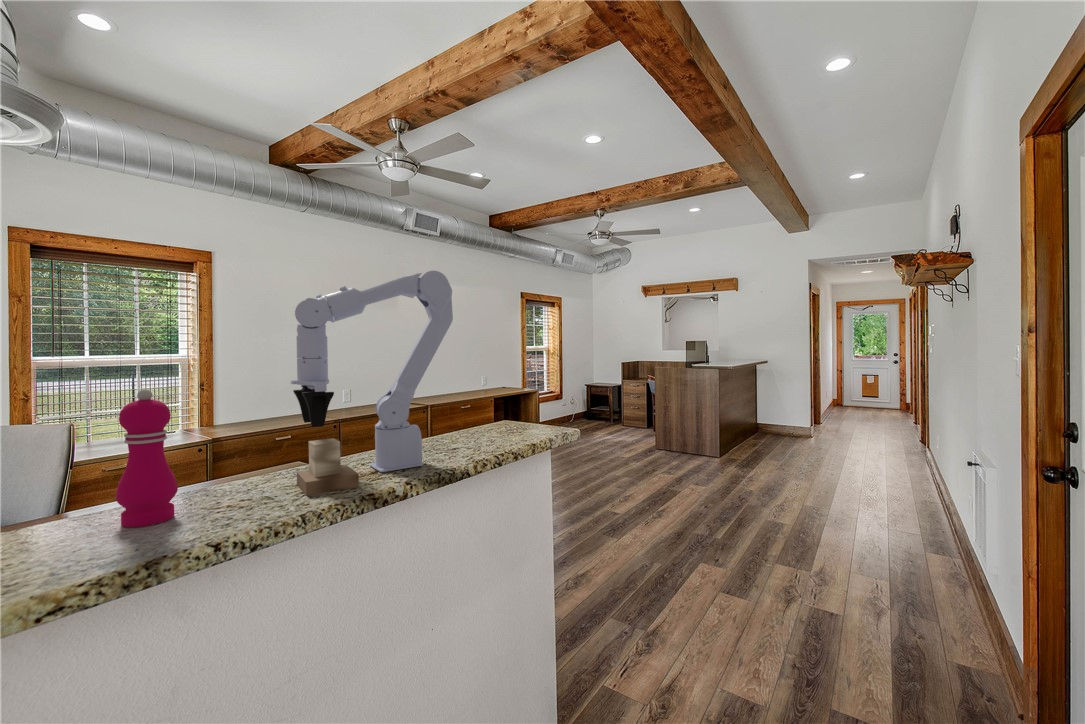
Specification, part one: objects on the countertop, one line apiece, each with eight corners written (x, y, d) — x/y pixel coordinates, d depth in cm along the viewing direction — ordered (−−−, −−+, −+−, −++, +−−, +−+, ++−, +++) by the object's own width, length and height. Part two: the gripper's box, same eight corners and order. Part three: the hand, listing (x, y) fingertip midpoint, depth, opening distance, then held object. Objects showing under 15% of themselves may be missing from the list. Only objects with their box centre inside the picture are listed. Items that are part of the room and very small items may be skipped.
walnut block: (346, 479, 96) (345, 464, 96) (358, 489, 89) (358, 473, 89) (297, 487, 91) (296, 471, 91) (306, 499, 84) (305, 482, 84)
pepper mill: (146, 511, 76) (142, 387, 75) (190, 512, 76) (186, 387, 75) (102, 529, 69) (98, 391, 68) (151, 529, 69) (147, 391, 68)
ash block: (334, 468, 93) (333, 438, 93) (340, 473, 90) (340, 441, 89) (309, 472, 90) (308, 441, 90) (315, 477, 87) (314, 444, 87)
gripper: (284, 358, 101) (285, 421, 101) (297, 359, 89) (299, 431, 90) (320, 357, 105) (321, 418, 106) (337, 358, 94) (338, 427, 94)
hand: (313, 424), depth 98 cm, fingers open, 7 cm apart
